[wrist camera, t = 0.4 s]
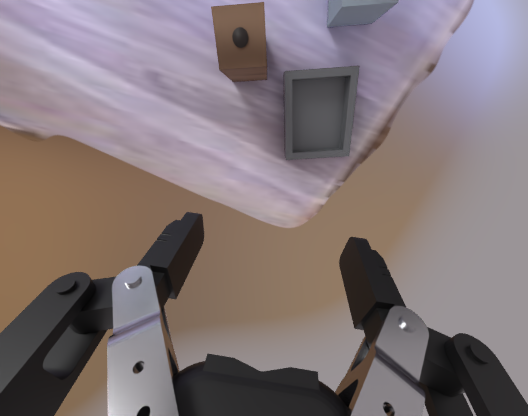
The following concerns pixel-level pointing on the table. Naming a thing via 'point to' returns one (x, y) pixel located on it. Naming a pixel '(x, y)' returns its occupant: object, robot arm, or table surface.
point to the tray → (319, 112)
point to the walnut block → (241, 41)
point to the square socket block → (356, 11)
